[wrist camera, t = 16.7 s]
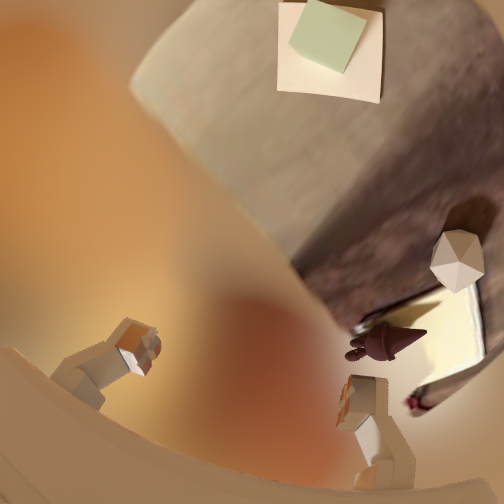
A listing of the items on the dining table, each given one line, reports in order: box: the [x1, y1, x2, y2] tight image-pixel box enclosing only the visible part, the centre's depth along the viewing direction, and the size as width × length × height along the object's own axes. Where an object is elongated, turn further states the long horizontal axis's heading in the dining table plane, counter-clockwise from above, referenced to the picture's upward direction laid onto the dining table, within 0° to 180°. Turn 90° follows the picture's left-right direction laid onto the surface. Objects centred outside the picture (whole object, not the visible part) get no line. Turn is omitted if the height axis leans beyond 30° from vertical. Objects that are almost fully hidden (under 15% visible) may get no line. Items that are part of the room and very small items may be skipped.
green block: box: [288, 0, 367, 75], centre depth 20 cm, size 5×5×10 cm
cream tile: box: [277, 3, 383, 103], centre depth 25 cm, size 12×12×1 cm
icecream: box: [345, 322, 427, 361], centre depth 42 cm, size 7×8×15 cm
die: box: [430, 229, 484, 294], centre depth 30 cm, size 8×9×10 cm
